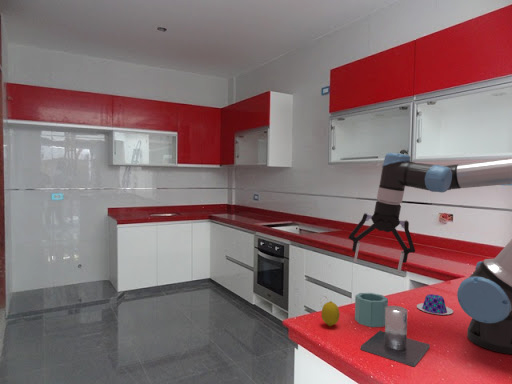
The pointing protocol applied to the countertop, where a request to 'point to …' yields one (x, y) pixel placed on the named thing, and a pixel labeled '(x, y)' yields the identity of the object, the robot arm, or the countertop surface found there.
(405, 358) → the domed lamp fixture
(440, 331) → the countertop surface
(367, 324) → the collar
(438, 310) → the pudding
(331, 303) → the lemon
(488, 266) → the robot arm
